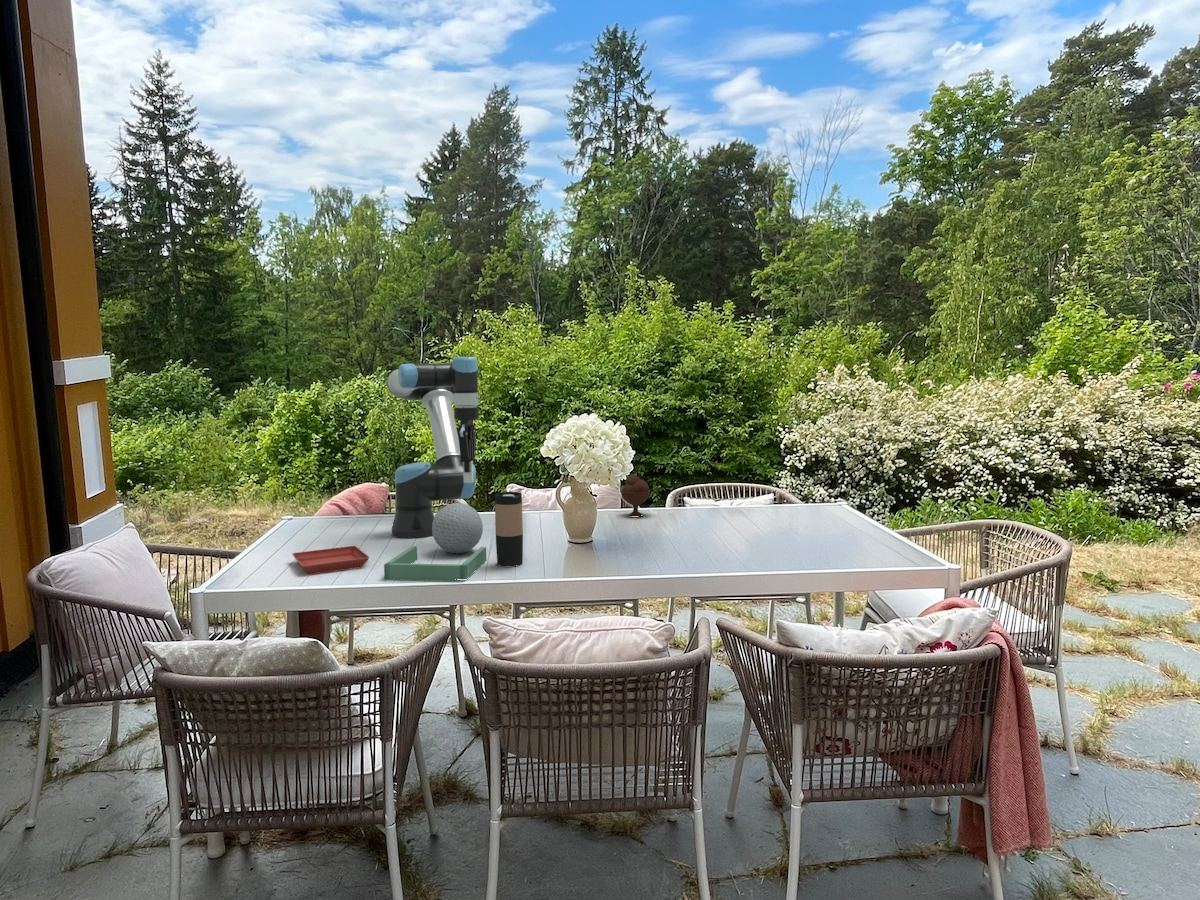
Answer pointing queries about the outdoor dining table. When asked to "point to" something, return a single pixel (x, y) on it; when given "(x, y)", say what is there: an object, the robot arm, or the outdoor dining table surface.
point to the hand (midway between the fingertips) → (468, 482)
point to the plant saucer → (331, 559)
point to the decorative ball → (457, 528)
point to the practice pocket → (431, 567)
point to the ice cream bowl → (635, 493)
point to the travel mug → (509, 528)
